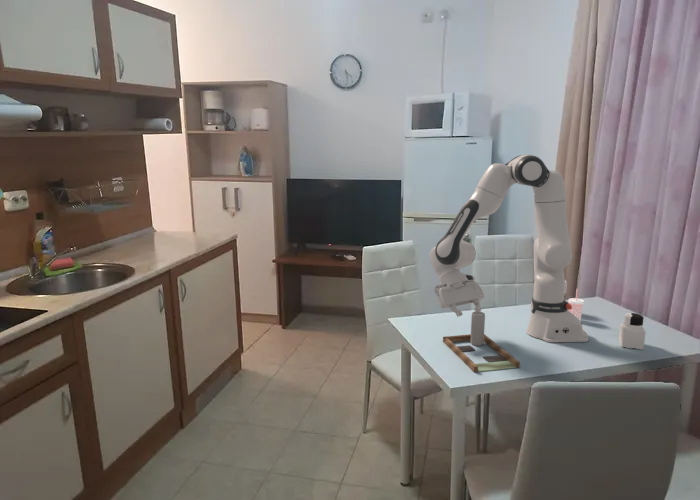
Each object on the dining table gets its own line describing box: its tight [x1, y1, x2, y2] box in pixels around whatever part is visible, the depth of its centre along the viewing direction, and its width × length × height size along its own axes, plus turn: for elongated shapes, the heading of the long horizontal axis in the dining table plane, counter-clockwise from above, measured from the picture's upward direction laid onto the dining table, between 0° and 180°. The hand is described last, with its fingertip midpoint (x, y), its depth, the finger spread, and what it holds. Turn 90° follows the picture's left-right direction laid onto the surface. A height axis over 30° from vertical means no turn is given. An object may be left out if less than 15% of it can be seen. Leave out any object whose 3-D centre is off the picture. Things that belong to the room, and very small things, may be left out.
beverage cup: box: [567, 288, 585, 321], centre depth 215 cm, size 6×6×14 cm
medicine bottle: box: [618, 312, 646, 350], centre depth 189 cm, size 7×7×12 cm
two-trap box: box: [442, 333, 521, 373], centre depth 183 cm, size 27×16×2 cm, turn 12°
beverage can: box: [470, 311, 486, 347], centre depth 191 cm, size 5×5×12 cm
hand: (469, 313), depth 194 cm, fingers open, 8 cm apart
